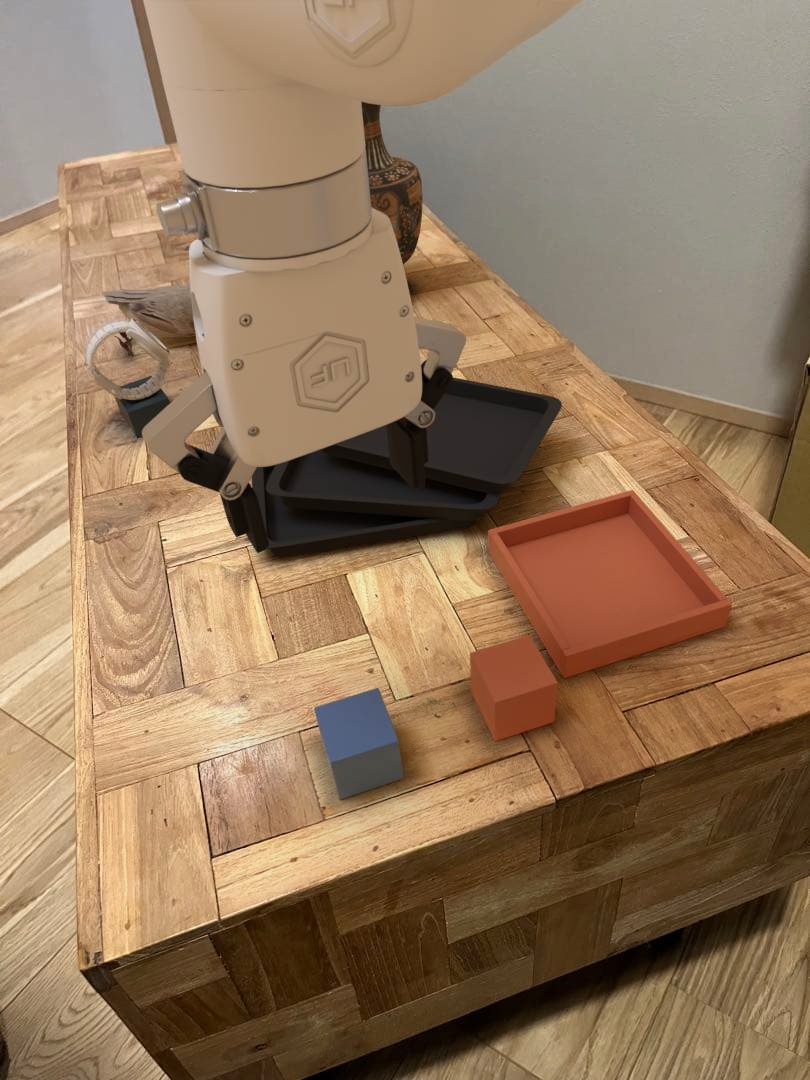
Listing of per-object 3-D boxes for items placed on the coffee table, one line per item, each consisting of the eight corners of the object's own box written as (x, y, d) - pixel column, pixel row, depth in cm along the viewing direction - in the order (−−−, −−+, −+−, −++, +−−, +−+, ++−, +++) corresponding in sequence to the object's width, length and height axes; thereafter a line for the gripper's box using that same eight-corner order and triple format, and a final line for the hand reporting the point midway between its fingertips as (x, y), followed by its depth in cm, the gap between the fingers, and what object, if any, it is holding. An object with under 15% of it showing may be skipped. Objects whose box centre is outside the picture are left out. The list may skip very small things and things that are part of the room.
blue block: (404, 778, 54) (398, 740, 51) (339, 800, 53) (330, 762, 50) (384, 725, 57) (378, 687, 54) (323, 745, 56) (313, 707, 53)
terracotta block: (554, 722, 56) (558, 682, 53) (494, 741, 55) (494, 702, 52) (527, 674, 59) (529, 634, 56) (470, 692, 59) (469, 652, 56)
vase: (444, 297, 103) (431, 19, 83) (353, 323, 100) (316, 41, 80) (404, 263, 111) (383, 3, 91) (318, 287, 108) (277, 22, 88)
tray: (273, 603, 66) (260, 556, 63) (224, 446, 83) (212, 403, 79) (606, 505, 72) (612, 457, 69) (498, 377, 89) (498, 333, 85)
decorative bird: (255, 334, 100) (242, 275, 95) (121, 362, 97) (100, 303, 92) (248, 315, 103) (236, 257, 98) (119, 341, 101) (99, 283, 96)
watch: (193, 416, 87) (165, 322, 80) (120, 444, 85) (84, 349, 77) (175, 393, 91) (147, 301, 84) (104, 419, 88) (69, 326, 81)
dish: (726, 626, 61) (732, 604, 59) (563, 678, 59) (565, 656, 57) (629, 511, 71) (632, 489, 70) (487, 551, 69) (487, 529, 67)
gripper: (102, 289, 30) (209, 607, 42) (501, 179, 35) (497, 487, 47) (61, 224, 35) (167, 523, 47) (416, 136, 40) (432, 424, 52)
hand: (333, 505), depth 47 cm, fingers open, 9 cm apart
